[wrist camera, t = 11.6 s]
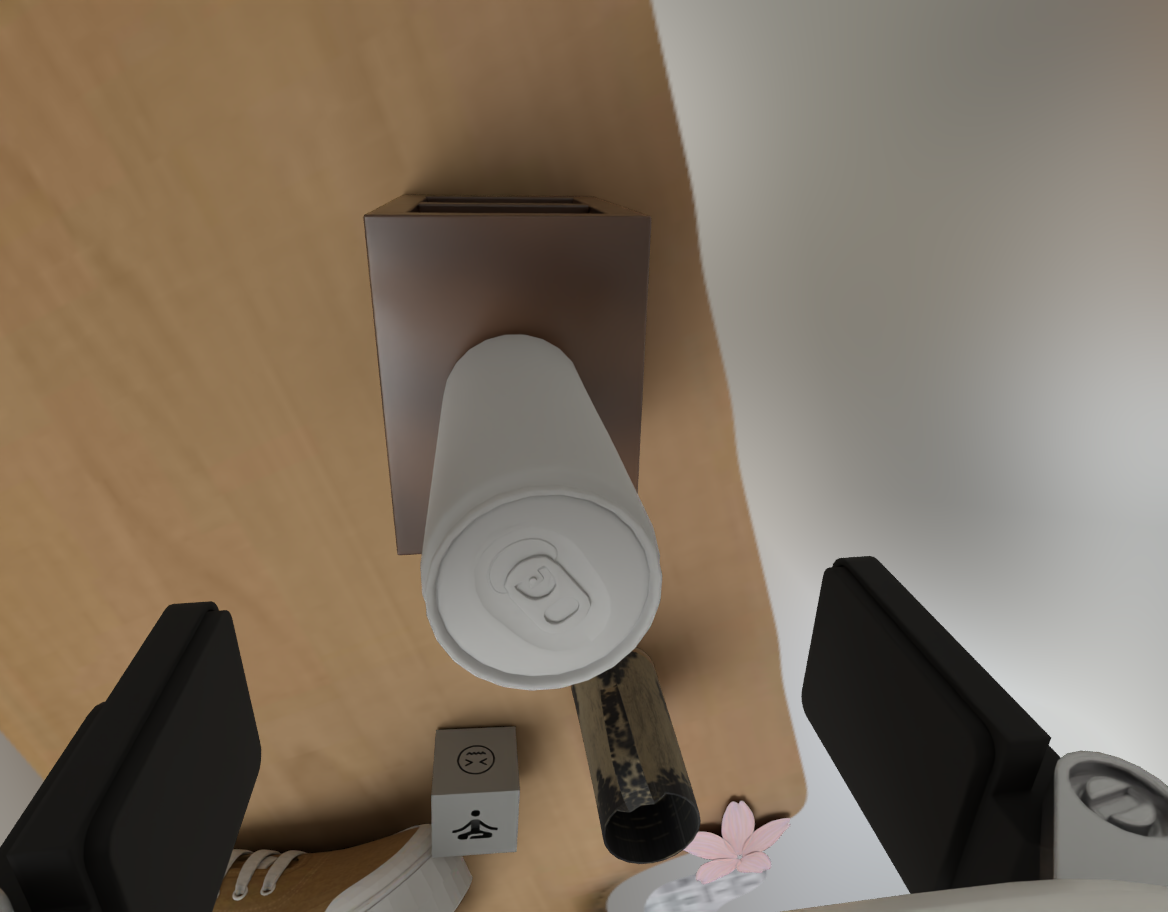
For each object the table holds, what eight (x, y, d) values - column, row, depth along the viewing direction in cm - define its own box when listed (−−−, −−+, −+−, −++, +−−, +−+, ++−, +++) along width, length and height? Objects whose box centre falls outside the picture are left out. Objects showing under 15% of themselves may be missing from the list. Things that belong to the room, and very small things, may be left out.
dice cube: (436, 788, 46) (431, 857, 42) (435, 730, 44) (431, 795, 40) (512, 784, 47) (516, 851, 43) (515, 726, 45) (519, 790, 41)
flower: (647, 897, 51) (642, 877, 53) (762, 914, 54) (755, 895, 56) (706, 801, 48) (699, 783, 50) (825, 824, 51) (816, 806, 52)
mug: (665, 698, 46) (723, 865, 35) (585, 725, 46) (619, 901, 35) (633, 604, 43) (686, 756, 32) (548, 633, 43) (571, 796, 32)
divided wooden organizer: (401, 194, 32) (362, 214, 21) (595, 196, 34) (652, 216, 23) (420, 437, 37) (397, 556, 26) (590, 431, 38) (635, 542, 27)
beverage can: (526, 300, 23) (573, 429, 12) (610, 408, 25) (715, 605, 14) (413, 388, 24) (360, 586, 13) (503, 487, 26) (524, 734, 15)
